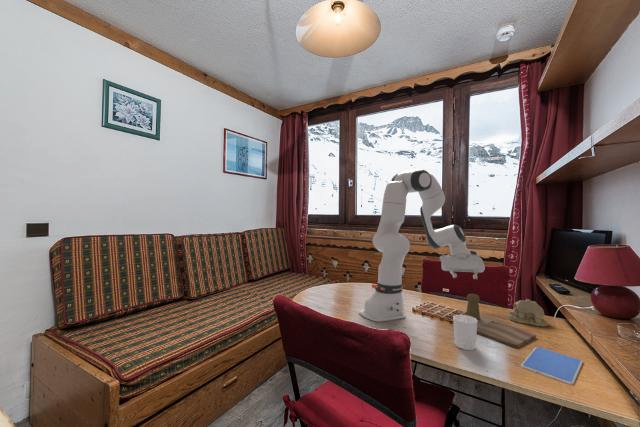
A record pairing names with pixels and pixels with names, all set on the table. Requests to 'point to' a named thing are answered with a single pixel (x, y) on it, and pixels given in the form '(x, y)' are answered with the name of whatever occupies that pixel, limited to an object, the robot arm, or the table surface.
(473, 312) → the olive green waisted column
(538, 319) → the ceramic model
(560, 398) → the table surface
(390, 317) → the robot arm
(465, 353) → the table surface
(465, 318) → the white cup
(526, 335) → the walnut board
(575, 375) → the tablet computer
